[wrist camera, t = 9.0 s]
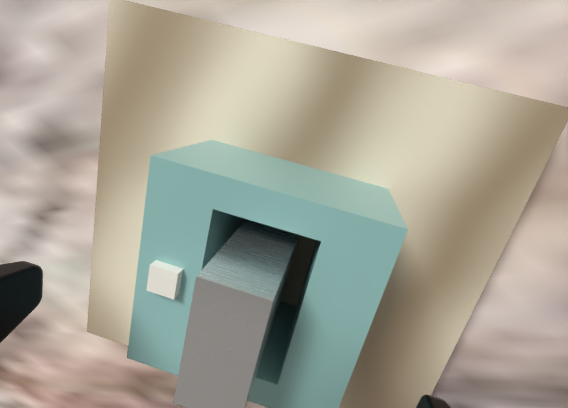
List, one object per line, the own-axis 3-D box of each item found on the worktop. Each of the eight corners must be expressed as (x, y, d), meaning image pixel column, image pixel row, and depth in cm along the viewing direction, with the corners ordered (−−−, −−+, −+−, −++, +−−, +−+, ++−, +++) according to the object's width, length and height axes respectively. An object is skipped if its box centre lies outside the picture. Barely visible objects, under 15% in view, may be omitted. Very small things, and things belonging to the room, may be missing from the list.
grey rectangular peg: (307, 210, 12) (273, 301, 7) (284, 289, 13) (239, 426, 8) (265, 197, 12) (196, 276, 7) (246, 277, 13) (173, 402, 8)
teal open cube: (334, 338, 14) (329, 439, 9) (185, 289, 14) (120, 364, 10) (388, 188, 12) (410, 234, 7) (211, 139, 12) (144, 156, 8)
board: (545, 108, 11) (573, 108, 10) (401, 412, 16) (406, 443, 14) (135, 8, 13) (109, -4, 11) (108, 313, 17) (86, 331, 16)
